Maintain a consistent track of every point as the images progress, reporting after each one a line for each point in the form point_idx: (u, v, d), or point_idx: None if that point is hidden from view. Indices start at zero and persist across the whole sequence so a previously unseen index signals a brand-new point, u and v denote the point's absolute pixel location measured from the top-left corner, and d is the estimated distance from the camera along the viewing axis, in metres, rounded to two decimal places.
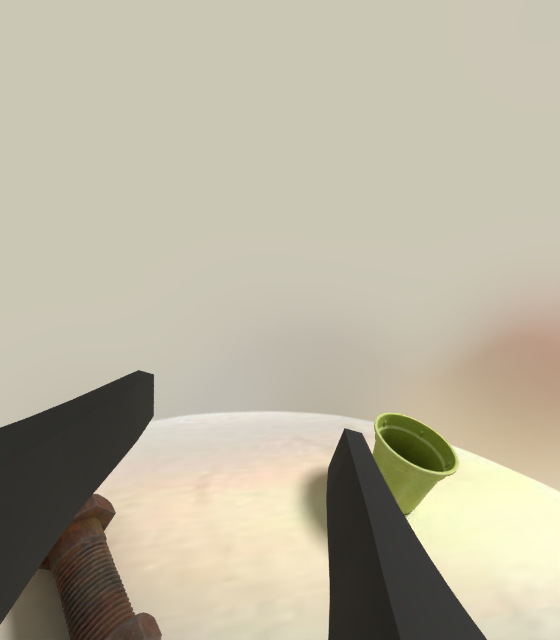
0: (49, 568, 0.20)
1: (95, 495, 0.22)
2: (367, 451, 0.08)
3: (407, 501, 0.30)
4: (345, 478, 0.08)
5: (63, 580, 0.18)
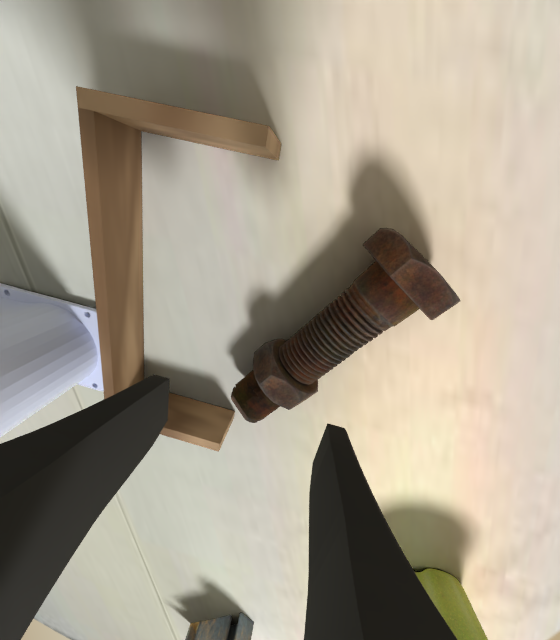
0: None
1: (453, 305, 0.12)
2: (348, 445, 0.08)
3: None
4: (325, 472, 0.08)
5: (341, 306, 0.15)
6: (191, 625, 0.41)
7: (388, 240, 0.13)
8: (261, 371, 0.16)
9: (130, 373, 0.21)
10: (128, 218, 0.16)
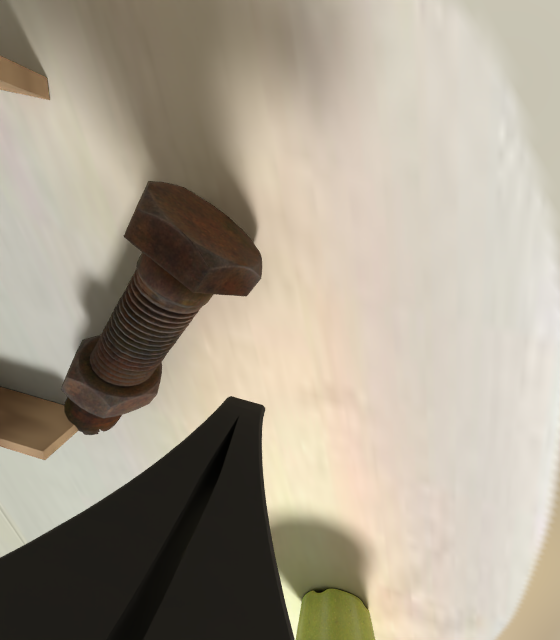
0: None
1: (219, 271, 0.09)
2: (256, 419, 0.08)
3: (296, 635, 0.23)
4: None
5: (128, 286, 0.12)
6: None
7: None
8: (67, 373, 0.14)
9: None
10: None
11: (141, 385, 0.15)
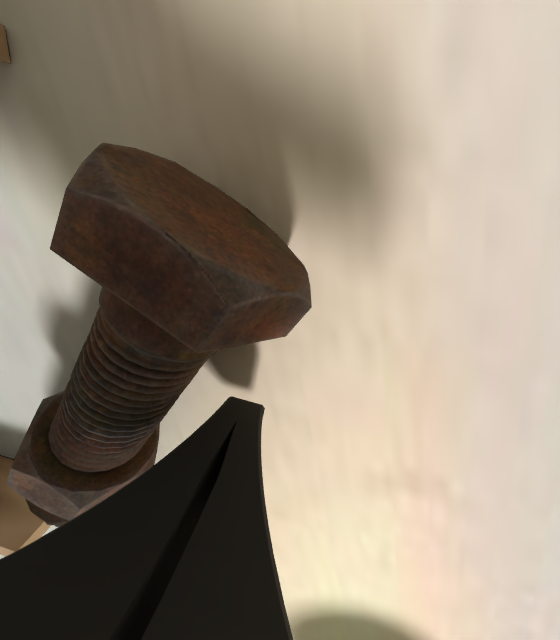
0: None
1: (247, 309, 0.05)
2: (256, 419, 0.08)
3: None
4: None
5: (91, 329, 0.07)
6: None
7: None
8: None
9: None
10: None
11: (129, 462, 0.10)
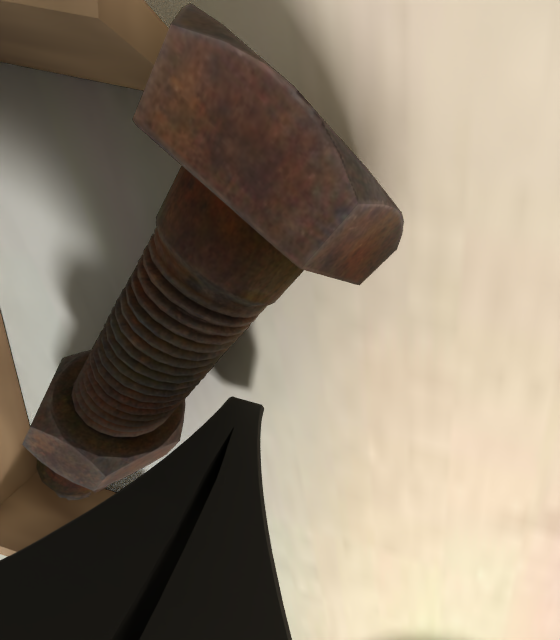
0: None
1: (367, 215, 0.04)
2: (255, 419, 0.08)
3: None
4: None
5: (137, 266, 0.06)
6: None
7: None
8: None
9: None
10: None
11: (156, 431, 0.09)
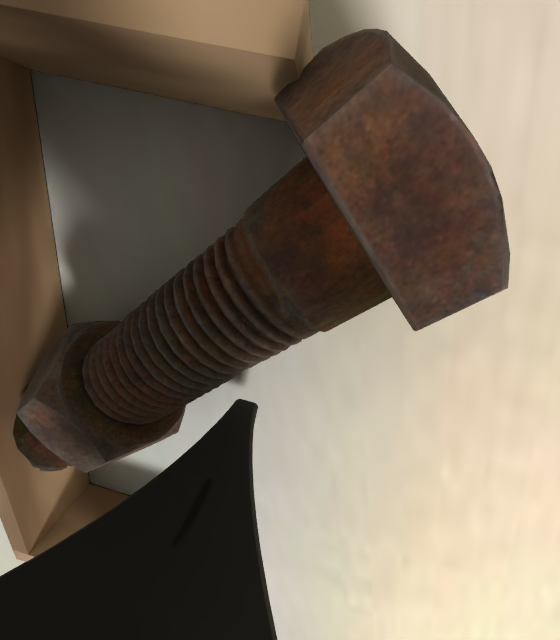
0: None
1: None
2: (248, 417, 0.08)
3: None
4: None
5: (204, 261, 0.06)
6: None
7: (333, 59, 0.04)
8: (34, 383, 0.07)
9: (57, 483, 0.13)
10: (16, 242, 0.09)
11: (159, 420, 0.09)
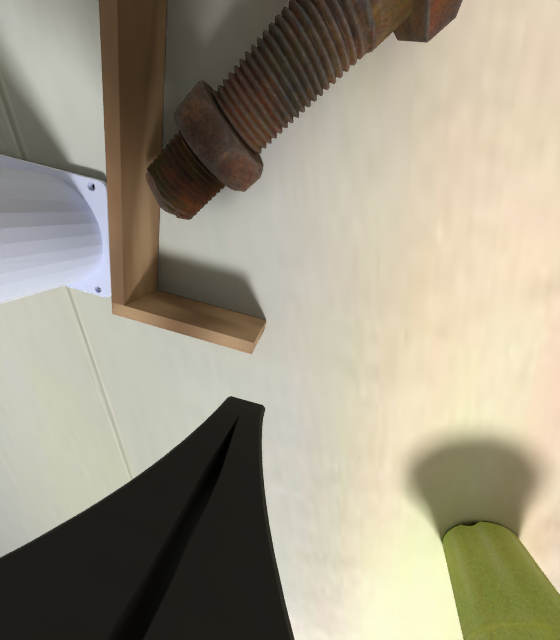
0: None
1: None
2: (256, 419, 0.08)
3: (452, 566, 0.22)
4: None
5: None
6: None
7: None
8: (182, 102, 0.12)
9: (143, 261, 0.17)
10: (150, 20, 0.13)
11: (252, 154, 0.13)
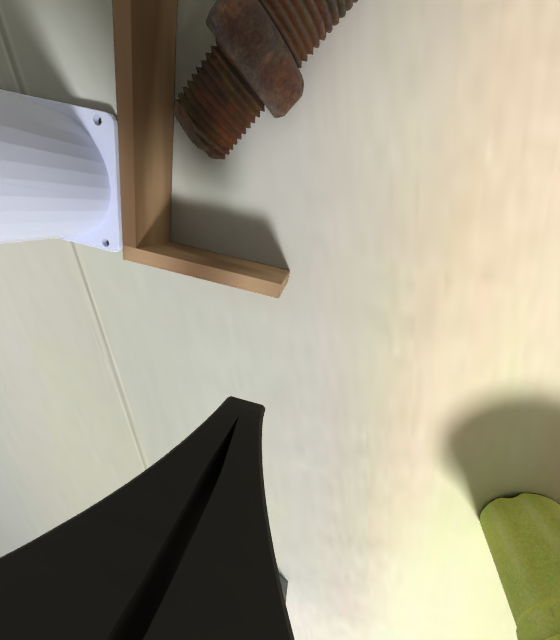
0: None
1: None
2: (257, 419, 0.08)
3: (495, 541, 0.20)
4: None
5: None
6: None
7: None
8: None
9: (155, 202, 0.15)
10: None
11: None
